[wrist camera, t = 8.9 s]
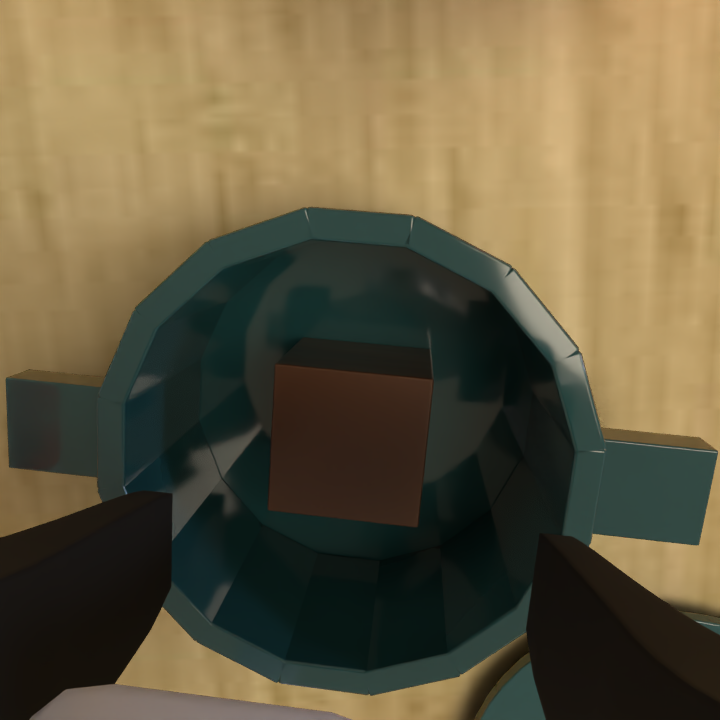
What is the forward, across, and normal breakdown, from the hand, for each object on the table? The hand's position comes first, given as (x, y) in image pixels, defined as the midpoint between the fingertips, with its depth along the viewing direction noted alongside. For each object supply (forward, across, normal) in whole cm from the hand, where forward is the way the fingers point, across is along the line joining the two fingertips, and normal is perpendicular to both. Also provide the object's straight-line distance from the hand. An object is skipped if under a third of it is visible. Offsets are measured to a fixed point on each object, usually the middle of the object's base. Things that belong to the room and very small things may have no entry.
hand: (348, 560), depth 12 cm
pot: (+9, 0, -1) cm, 9 cm away
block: (+8, 0, -1) cm, 8 cm away
